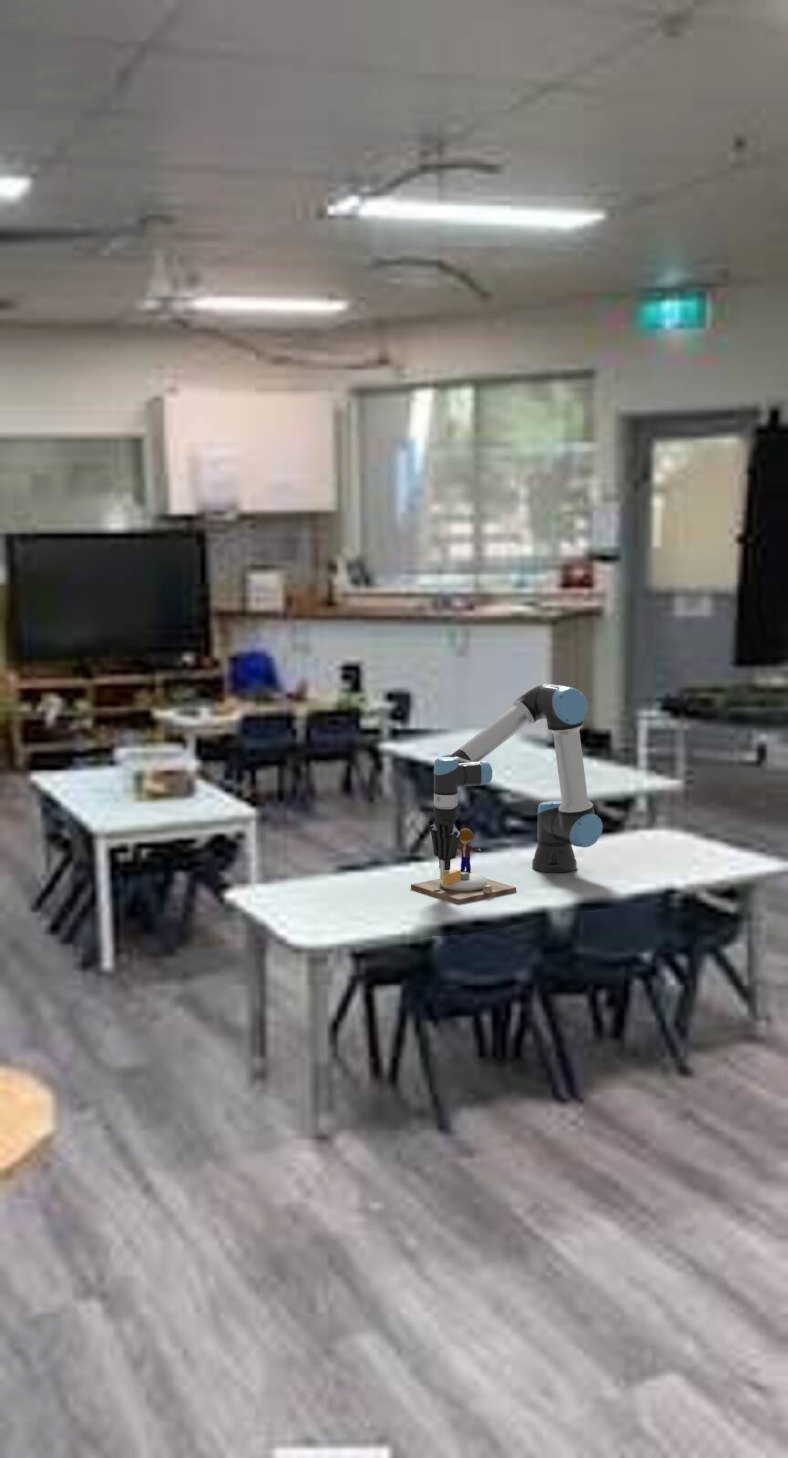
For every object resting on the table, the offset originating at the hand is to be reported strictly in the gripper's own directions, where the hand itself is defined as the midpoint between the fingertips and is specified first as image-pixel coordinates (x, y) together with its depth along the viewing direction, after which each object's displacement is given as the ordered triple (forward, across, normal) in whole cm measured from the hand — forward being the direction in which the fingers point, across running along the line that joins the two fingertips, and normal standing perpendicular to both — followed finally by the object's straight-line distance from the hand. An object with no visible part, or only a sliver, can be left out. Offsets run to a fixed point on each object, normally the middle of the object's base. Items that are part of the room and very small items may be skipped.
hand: (444, 879), depth 456 cm
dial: (+3, +1, +7) cm, 7 cm away
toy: (+5, -18, +26) cm, 32 cm away
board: (+5, 0, +8) cm, 9 cm away
